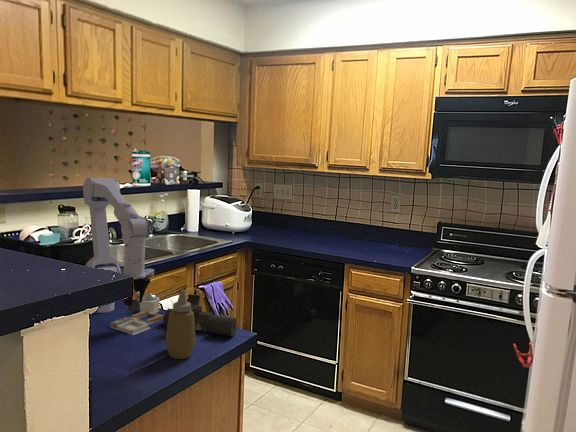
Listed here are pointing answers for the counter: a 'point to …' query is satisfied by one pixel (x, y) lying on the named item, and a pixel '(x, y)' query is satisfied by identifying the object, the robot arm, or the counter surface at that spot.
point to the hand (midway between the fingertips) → (133, 303)
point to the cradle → (129, 326)
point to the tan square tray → (145, 313)
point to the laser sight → (207, 319)
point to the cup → (150, 305)
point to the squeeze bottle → (180, 329)
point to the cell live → (135, 301)
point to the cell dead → (149, 297)
